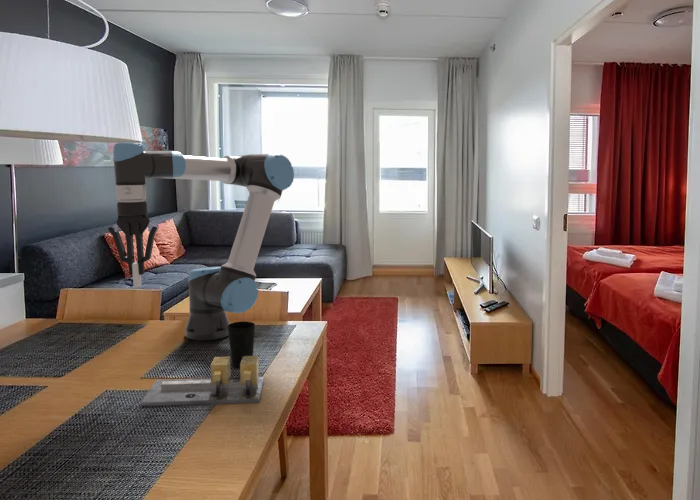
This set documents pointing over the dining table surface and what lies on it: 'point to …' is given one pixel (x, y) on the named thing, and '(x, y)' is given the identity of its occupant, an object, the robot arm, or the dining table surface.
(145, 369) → the dining table surface
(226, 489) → the dining table surface
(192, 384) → the trammel bar
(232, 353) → the cup
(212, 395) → the bolt plate
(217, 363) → the block
